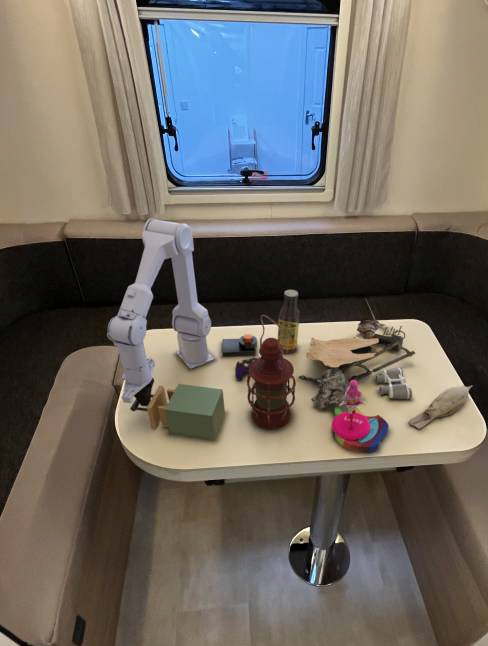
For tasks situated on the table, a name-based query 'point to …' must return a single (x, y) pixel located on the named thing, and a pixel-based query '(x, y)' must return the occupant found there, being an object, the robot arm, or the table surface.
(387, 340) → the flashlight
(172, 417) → the cabinet
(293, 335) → the sauce bottle
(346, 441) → the decorative object
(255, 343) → the button box
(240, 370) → the gaming controller
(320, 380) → the knife
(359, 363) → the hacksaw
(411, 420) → the sculpture
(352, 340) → the tan craggy stone
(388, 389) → the binoculars
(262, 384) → the lantern
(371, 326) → the oyster
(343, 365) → the phone
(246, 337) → the button
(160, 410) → the drawer
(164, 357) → the table surface
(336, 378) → the rock
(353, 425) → the figurine
